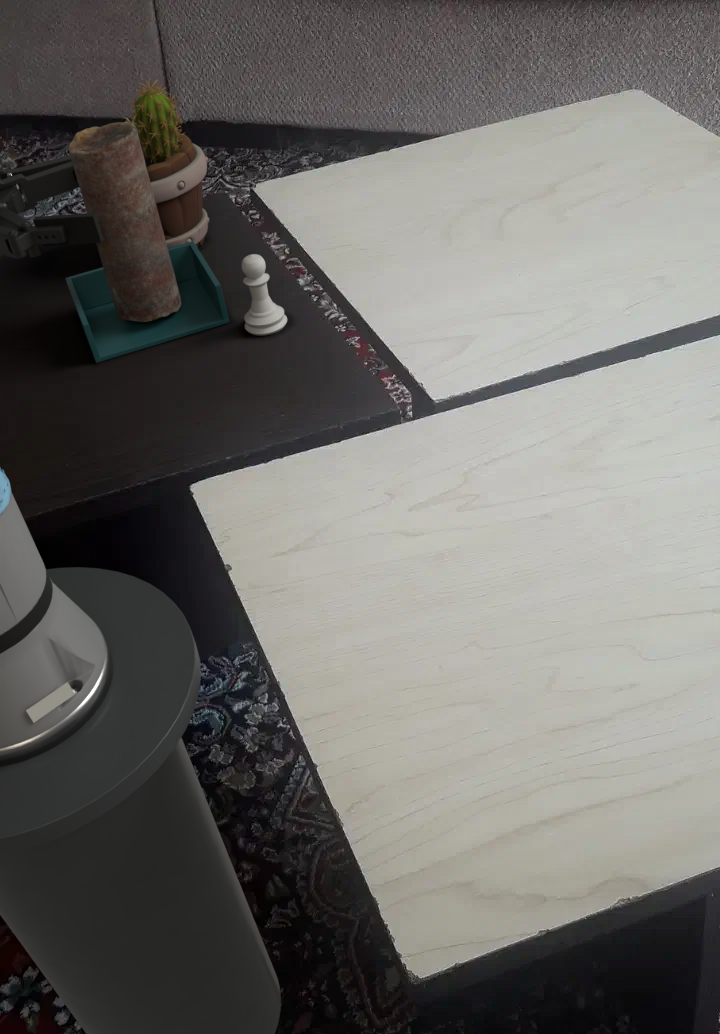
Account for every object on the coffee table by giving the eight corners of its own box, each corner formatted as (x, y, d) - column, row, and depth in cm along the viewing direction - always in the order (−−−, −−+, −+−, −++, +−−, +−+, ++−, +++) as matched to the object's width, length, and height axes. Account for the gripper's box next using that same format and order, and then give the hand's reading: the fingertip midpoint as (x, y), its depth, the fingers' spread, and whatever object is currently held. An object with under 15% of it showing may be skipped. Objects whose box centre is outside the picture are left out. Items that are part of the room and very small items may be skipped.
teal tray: (229, 322, 117) (220, 284, 114) (96, 363, 115) (82, 325, 111) (194, 264, 128) (185, 228, 125) (72, 300, 126) (60, 264, 123)
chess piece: (281, 336, 113) (267, 265, 108) (240, 337, 114) (223, 267, 109) (292, 313, 116) (278, 243, 111) (251, 314, 118) (236, 245, 112)
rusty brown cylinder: (171, 332, 116) (122, 144, 102) (109, 332, 118) (52, 147, 104) (191, 297, 121) (146, 114, 107) (131, 298, 123) (79, 118, 109)
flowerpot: (84, 273, 131) (27, 102, 117) (147, 217, 140) (101, 53, 126) (185, 281, 126) (138, 103, 112) (243, 222, 135) (207, 51, 121)
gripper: (-2, 194, 126) (166, 183, 121) (-100, 299, 109) (90, 291, 104) (-27, 129, 120) (147, 114, 116) (-134, 228, 104) (65, 216, 99)
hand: (121, 198), depth 110 cm, fingers open, 13 cm apart
